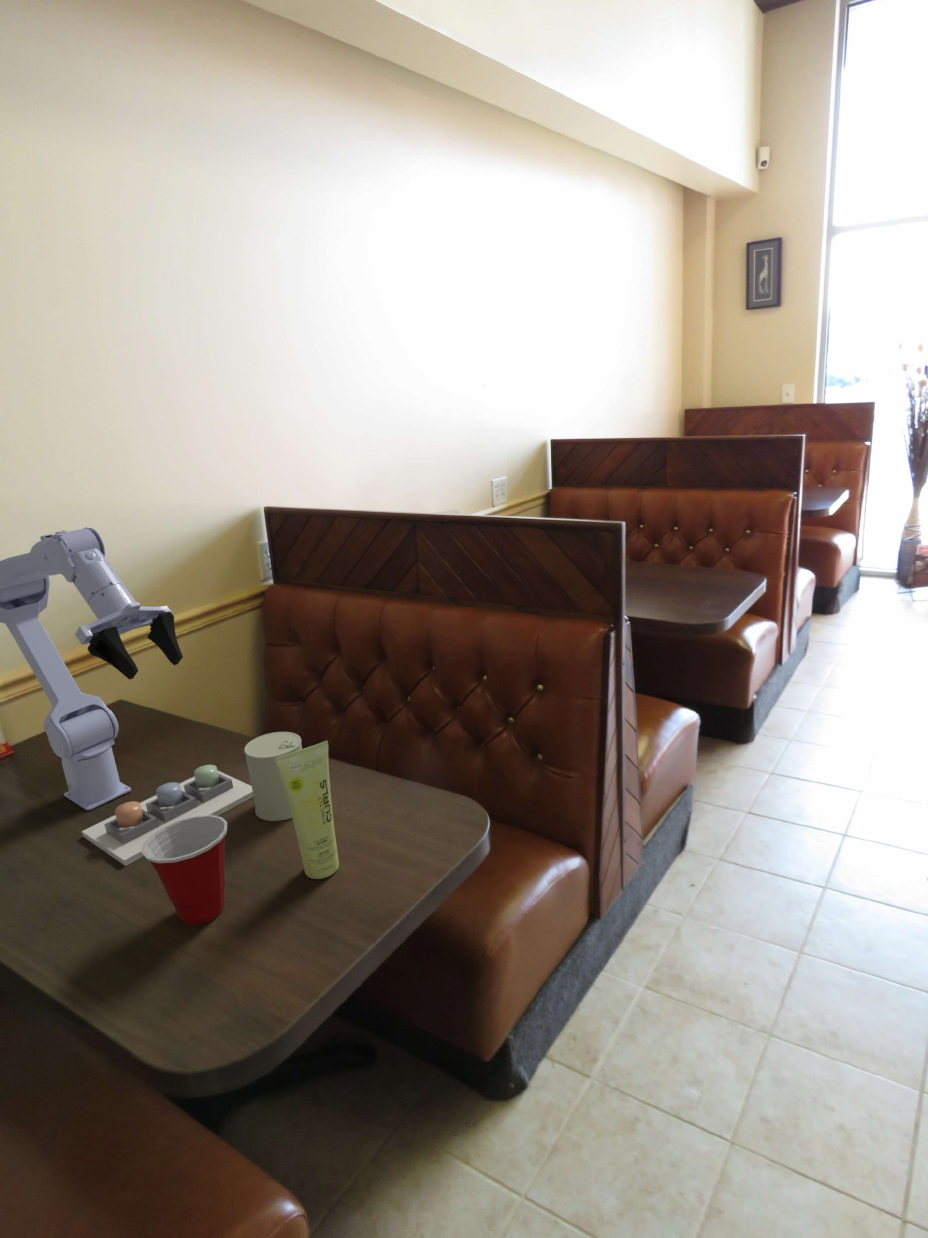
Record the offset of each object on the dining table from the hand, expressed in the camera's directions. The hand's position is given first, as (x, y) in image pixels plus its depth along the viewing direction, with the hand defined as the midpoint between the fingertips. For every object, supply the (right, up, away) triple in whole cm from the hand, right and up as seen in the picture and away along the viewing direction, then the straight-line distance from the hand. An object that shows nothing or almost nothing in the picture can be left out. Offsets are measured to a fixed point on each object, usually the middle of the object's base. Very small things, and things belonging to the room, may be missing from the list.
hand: (156, 668), depth 108 cm
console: (-4, -26, +17) cm, 31 cm away
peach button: (-9, -25, +11) cm, 29 cm away
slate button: (-4, -23, +16) cm, 28 cm away
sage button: (0, -21, +21) cm, 30 cm away
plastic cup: (+9, -32, -8) cm, 35 cm away
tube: (+24, -29, -1) cm, 38 cm away
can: (+14, -24, +17) cm, 33 cm away
